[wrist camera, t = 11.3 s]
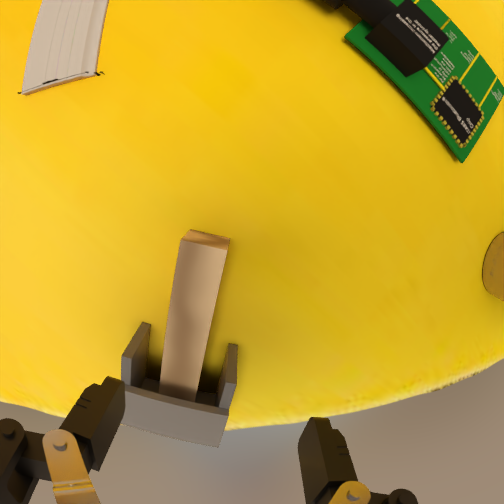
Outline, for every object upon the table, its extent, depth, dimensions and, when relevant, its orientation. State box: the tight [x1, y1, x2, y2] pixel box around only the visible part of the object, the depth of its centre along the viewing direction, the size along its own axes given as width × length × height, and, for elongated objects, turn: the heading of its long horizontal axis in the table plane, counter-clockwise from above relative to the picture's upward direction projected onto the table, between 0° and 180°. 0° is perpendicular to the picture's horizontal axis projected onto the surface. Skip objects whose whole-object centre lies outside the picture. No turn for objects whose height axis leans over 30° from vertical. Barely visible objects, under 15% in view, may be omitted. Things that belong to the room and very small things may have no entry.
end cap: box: [120, 322, 238, 448], centre depth 30 cm, size 11×9×8 cm
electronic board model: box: [323, 0, 504, 163], centre depth 21 cm, size 30×7×15 cm
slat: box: [159, 229, 230, 402], centre depth 30 cm, size 4×18×5 cm, turn 166°
